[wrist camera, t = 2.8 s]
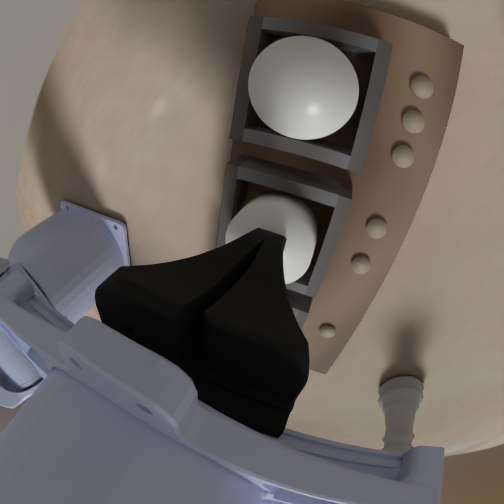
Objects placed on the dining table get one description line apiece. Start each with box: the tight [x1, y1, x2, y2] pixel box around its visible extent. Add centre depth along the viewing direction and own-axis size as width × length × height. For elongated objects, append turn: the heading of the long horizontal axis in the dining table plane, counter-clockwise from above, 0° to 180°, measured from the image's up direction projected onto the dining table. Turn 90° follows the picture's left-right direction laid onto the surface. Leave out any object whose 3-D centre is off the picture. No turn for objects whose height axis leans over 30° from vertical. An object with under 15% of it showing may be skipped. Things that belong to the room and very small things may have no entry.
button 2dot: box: [225, 191, 318, 284], centre depth 13 cm, size 4×4×2 cm
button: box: [248, 36, 359, 140], centre depth 9 cm, size 4×4×2 cm
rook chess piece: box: [378, 375, 424, 453], centre depth 18 cm, size 4×4×8 cm
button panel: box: [217, 0, 464, 374], centre depth 15 cm, size 10×24×4 cm, turn 171°
